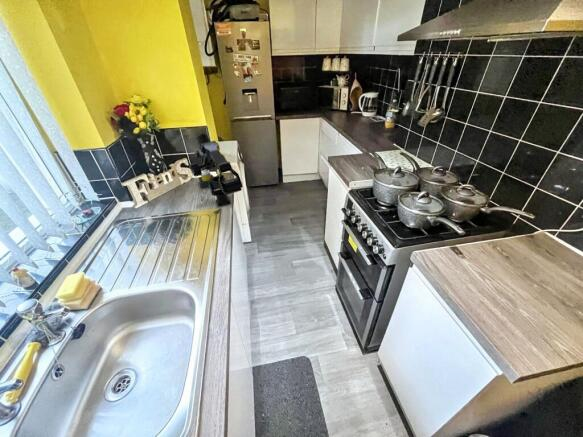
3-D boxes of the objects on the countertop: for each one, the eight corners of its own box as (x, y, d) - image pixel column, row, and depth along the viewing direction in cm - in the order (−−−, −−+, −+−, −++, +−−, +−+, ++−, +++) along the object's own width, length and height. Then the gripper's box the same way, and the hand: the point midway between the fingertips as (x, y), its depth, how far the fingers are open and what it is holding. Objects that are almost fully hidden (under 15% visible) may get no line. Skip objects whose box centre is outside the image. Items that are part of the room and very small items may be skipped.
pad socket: (216, 184, 147) (214, 179, 145) (202, 188, 144) (201, 182, 142) (213, 179, 153) (212, 174, 150) (200, 182, 150) (198, 177, 148)
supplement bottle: (202, 185, 145) (198, 170, 140) (204, 180, 150) (200, 166, 144) (211, 184, 146) (207, 169, 140) (213, 180, 150) (209, 165, 144)
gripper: (219, 139, 127) (216, 154, 141) (183, 150, 119) (184, 165, 133) (229, 157, 126) (226, 171, 140) (194, 169, 118) (194, 182, 132)
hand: (208, 171), depth 136 cm, fingers open, 9 cm apart
